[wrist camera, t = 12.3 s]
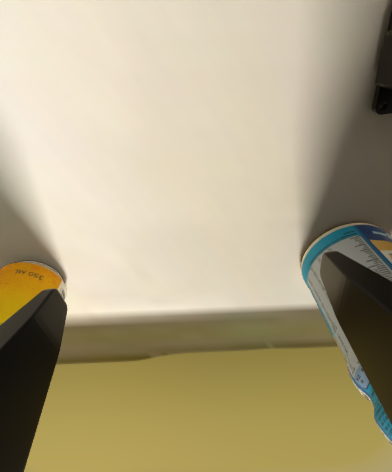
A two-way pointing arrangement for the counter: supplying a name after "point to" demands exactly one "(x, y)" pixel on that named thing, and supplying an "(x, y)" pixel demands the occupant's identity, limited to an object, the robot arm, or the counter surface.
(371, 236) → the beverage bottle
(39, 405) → the robot arm
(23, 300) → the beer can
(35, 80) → the counter surface
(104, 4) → the counter surface
